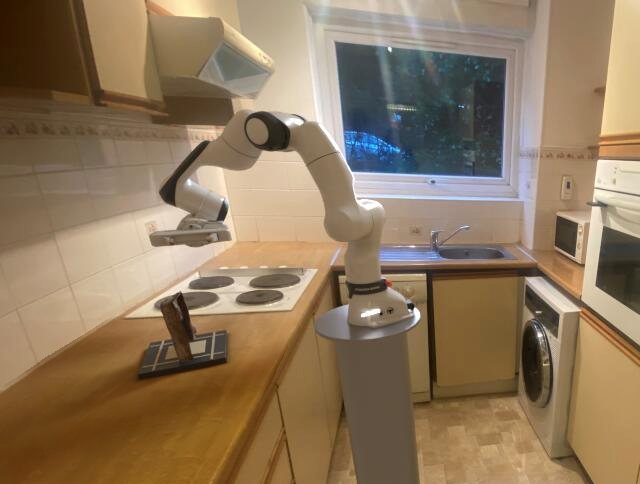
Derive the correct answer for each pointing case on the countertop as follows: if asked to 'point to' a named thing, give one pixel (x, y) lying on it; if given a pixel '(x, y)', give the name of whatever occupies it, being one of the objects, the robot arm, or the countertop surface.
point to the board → (165, 361)
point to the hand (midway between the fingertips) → (190, 241)
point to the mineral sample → (179, 325)
